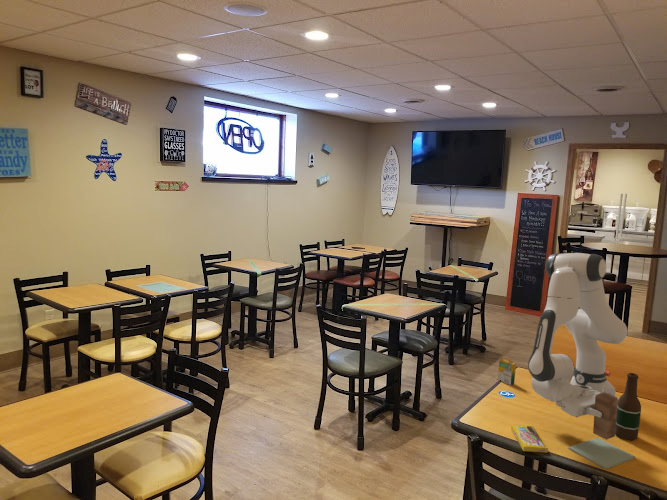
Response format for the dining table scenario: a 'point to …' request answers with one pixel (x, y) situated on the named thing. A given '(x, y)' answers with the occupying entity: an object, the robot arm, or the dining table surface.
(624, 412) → the beer bottle
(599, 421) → the walnut block
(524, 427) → the candy box
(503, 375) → the crayon box
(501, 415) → the dining table surface
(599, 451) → the mat
